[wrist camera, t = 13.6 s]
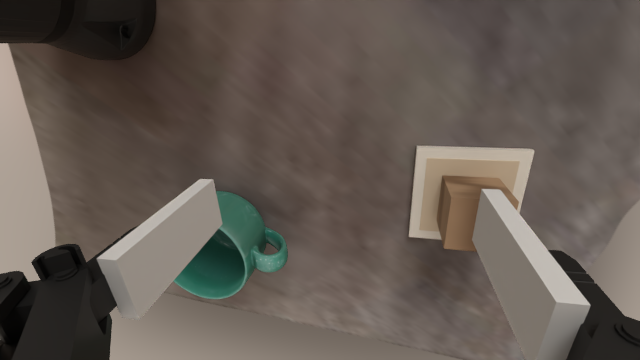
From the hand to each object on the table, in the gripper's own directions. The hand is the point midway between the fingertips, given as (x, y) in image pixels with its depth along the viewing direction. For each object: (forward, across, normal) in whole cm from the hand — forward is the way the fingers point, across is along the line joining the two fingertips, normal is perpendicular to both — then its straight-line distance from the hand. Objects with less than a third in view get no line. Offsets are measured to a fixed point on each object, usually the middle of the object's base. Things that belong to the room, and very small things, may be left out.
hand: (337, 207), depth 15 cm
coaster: (+22, +12, -10) cm, 27 cm away
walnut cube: (+21, +12, -10) cm, 27 cm away
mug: (+23, -17, -16) cm, 33 cm away
